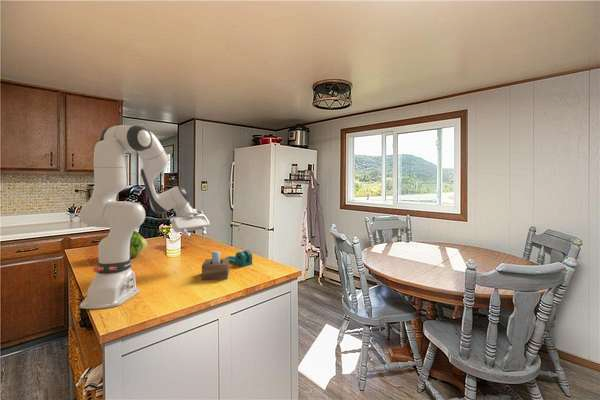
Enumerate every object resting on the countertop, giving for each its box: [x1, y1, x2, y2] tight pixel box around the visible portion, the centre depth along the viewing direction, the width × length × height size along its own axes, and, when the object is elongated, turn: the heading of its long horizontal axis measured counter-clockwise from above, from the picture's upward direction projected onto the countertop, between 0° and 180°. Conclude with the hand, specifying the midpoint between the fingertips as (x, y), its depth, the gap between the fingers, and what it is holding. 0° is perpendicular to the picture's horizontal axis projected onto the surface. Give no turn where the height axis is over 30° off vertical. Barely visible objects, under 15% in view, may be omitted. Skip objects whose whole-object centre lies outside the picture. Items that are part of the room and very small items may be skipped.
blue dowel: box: [211, 250, 221, 264], centre depth 150 cm, size 4×4×12 cm
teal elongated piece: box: [224, 249, 253, 268], centre depth 174 cm, size 18×7×8 cm, turn 52°
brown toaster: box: [201, 258, 230, 281], centre depth 150 cm, size 12×12×7 cm
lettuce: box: [106, 230, 148, 259], centre depth 181 cm, size 19×23×18 cm
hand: (197, 235), depth 155 cm, fingers open, 8 cm apart
